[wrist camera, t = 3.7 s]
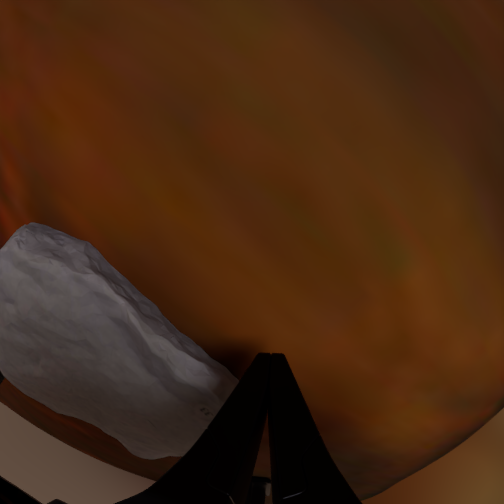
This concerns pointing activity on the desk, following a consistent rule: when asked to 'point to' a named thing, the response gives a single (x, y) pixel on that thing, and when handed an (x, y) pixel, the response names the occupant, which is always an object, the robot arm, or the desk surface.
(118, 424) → the stone block
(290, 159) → the desk surface
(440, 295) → the desk surface
